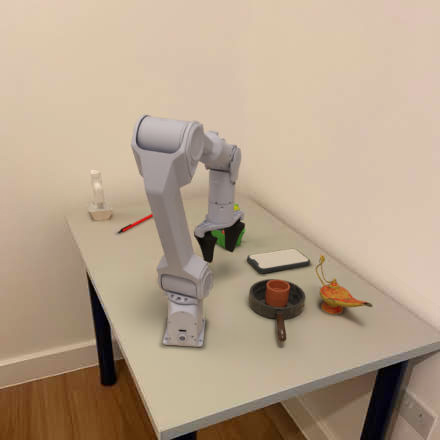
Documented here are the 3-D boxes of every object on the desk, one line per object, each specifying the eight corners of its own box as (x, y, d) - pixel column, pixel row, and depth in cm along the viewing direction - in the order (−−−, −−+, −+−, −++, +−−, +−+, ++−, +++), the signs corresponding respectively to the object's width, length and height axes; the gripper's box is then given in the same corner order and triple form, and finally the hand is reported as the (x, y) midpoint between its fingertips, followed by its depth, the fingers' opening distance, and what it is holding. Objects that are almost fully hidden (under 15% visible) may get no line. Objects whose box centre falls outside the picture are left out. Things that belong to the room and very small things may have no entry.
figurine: (91, 224, 139) (85, 177, 131) (87, 213, 146) (81, 167, 138) (114, 221, 141) (110, 175, 133) (109, 210, 148) (104, 166, 140)
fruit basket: (202, 237, 133) (202, 202, 127) (225, 231, 138) (226, 196, 132) (225, 252, 126) (227, 214, 120) (248, 244, 130) (251, 208, 124)
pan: (306, 322, 98) (308, 310, 96) (249, 318, 98) (250, 306, 97) (300, 291, 109) (301, 280, 107) (248, 288, 109) (249, 277, 107)
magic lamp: (353, 336, 94) (364, 293, 88) (300, 296, 107) (307, 255, 101) (376, 328, 97) (388, 285, 91) (322, 289, 110) (329, 250, 104)
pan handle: (274, 313, 98) (275, 307, 97) (282, 314, 98) (283, 307, 97) (277, 343, 89) (278, 337, 88) (286, 344, 89) (287, 337, 88)
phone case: (294, 252, 128) (245, 260, 122) (294, 247, 127) (245, 254, 121) (311, 266, 121) (260, 275, 115) (312, 261, 120) (261, 269, 114)
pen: (117, 233, 134) (117, 230, 133) (155, 214, 148) (155, 210, 147) (119, 234, 133) (119, 230, 133) (157, 214, 148) (157, 211, 147)
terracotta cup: (288, 309, 101) (291, 292, 99) (264, 308, 101) (267, 290, 99) (286, 297, 106) (289, 280, 103) (264, 296, 106) (265, 278, 103)
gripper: (228, 188, 103) (226, 241, 110) (184, 203, 93) (184, 260, 101) (252, 195, 99) (248, 250, 106) (209, 212, 89) (207, 271, 97)
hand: (218, 255), depth 103 cm, fingers open, 7 cm apart
